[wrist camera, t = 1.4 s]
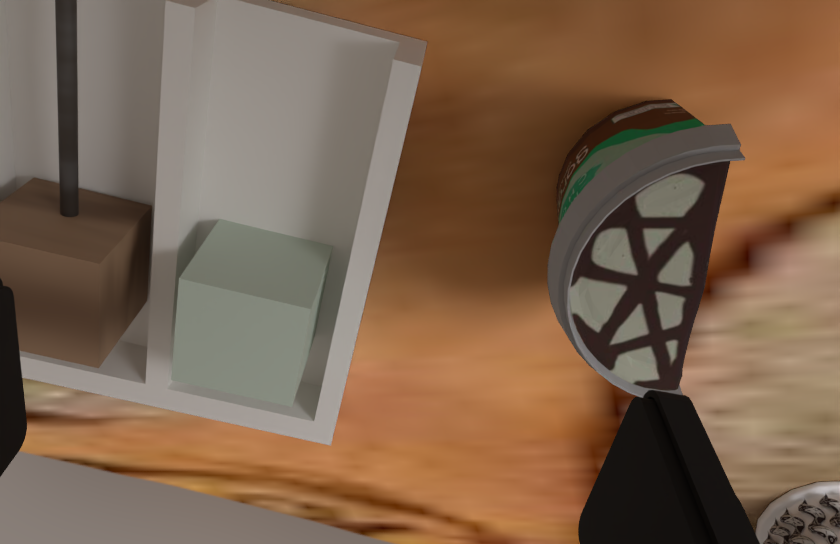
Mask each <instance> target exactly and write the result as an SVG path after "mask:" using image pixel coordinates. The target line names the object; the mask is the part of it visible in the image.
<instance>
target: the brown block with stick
mask: <svg viewBox="0 0 840 544" xmlns="http://www.w3.org/2000/svg"><path fill="white" fill-rule="evenodd" d="M55 19H56V61H57V103H58V145H59V183H55V182H51V181H47V180H43V179H39V178H35V177H34V178H32V179H31V180H30V181H28V182H27V183H26V184H24V185H23V186H21V187H20V188H19V189H17V190H16V191H15V192H13V193H12V194H11V195H9V196H8V197H7V198H5V199H4V200H3V201H1V202H0V278H1V280H2V282H3V286H8V287H10V288H11V289H12V291H13V295H14V302H15V312H16V322H17V332H18V341H19V351H23V352H28V353H32V354H37V355H41V356H46V357H50V358H55V359H59V360H64V361H68V362H72V363H77V364H81V365H86V366H90V367H95V368H99V367H100V366H101V364H102V363H103V362H104V360H105V359H106V357H107V356H108V355H109V353H110V352H111V350H112V349H113V348H114V346H115V345H116V344H117V342H118V341H119V339H120V338H121V337H122V335H123V334H124V332H125V331H126V330H127V328H128V327H129V326H130V324H131V323H132V321H133V320H134V319H135V317H136V316H137V314H138V313H139V312H140V310H141V309H142V307H143V306H144V305H145V303H146V302H147V296H148V276H149V257H150V237H151V217H152V206H151V205H147V204H143V203H139V202H135V201H131V200H126V199H122V198H118V197H114V196H110V195H106V194H101V193H97V192H93V191H89V190H85V189H80V188H79V187H78V72H77V0H55Z"/></svg>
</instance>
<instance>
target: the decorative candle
mask: <svg viewBox="0 0 840 544" xmlns="http://www.w3.org/2000/svg"><path fill="white" fill-rule="evenodd" d="M755 534H756V536H757V538H758V541H759V543H760V544H840V481H826V482H816V483H812V484H809V485H806V486H802V487H799V488H796V489H792V490H790V491H789V492H787V493H786V494H784V495H782V496H781V497H779V498H778V499H776V500H774V501H773V502H771V503H770V504H769V506H768V507H767V508H766V509H765V511H764V512H763V513H762V515H761V516H760V517H759V518H758V521H757V527H756V533H755Z"/></svg>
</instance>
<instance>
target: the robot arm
mask: <svg viewBox="0 0 840 544" xmlns="http://www.w3.org/2000/svg"><path fill="white" fill-rule="evenodd" d="M26 430H27V420H26V410H25V401H24V391H23V381H22V371H21V361H20V351H19V341H18V332H17V322H16V312H15V302H14V295H13V291H12V289H11V288H10V287H8V286H3V282H2V280H1V278H0V476H1V475H2V473H3V472H4V470H5V469H6V468H7V467H8V465H9V464H10V462H11V461H12V460H13V458H14V457H15V455H16V454H17V453H18V451H19V450H20V448H21V446H22V444H23V442H24V439H25V436H26ZM579 541H580V544H760V543H759V541H758V538H757V536H756V534H755V532H754V530H753V528H752V526H751V524H750V521H749V519H748V517H747V515H746V513H745V511H744V509H743V507H742V504H741V503H740V501H739V499H738V498H737V496H736V495H735V493H734V491H733V489H732V487H731V485H730V482H729V480H728V478H727V476H726V474H725V472H724V470H723V468H722V465H721V463H720V461H719V459H718V457H717V455H716V453H715V450H714V448H713V446H712V444H711V442H710V440H709V438H708V435H707V433H706V431H705V429H704V427H703V425H702V423H701V420H700V418H699V416H698V414H697V412H696V410H695V408H694V405H693V403H692V401H691V400H690V399H689V397H687V396H685V395H679V394H674V393H668V392H662V391H657V390H648V391H647V392H646V393H645V394H644V396H643V398H642V397H635V398H634V399H633V400H632V401H631V403H630V405H629V408H628V410H627V412H626V414H625V417H624V419H623V421H622V423H621V426H620V428H619V430H618V432H617V435H616V437H615V439H614V441H613V444H612V446H611V448H610V450H609V453H608V455H607V457H606V459H605V462H604V464H603V466H602V468H601V471H600V473H599V475H598V477H597V480H596V482H595V484H594V486H593V489H592V491H591V493H590V495H589V498H588V500H587V502H586V504H585V507H584V509H583V511H582V514H581V517H580V521H579Z"/></svg>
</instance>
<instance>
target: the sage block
mask: <svg viewBox="0 0 840 544" xmlns="http://www.w3.org/2000/svg"><path fill="white" fill-rule="evenodd" d="M332 249H333V246H331V245H327V244H323V243H318V242H314V241H310V240H306V239H302V238H298V237H293V236H289V235H285V234H281V233H277V232H273V231H268V230H264V229H260V228H256V227H252V226H248V225H243V224H239V223H235V222H231V221H227V220H223V219H219V221H218V222H217V224H216V225H215V226H214V228H213V229H212V231H211V232H210V234H209V235H208V237H207V238H206V240H205V241H204V243H203V244H202V245H201V247H200V248H199V250H198V251H197V253H196V254H195V256H194V257H193V259H192V260H191V262H190V263H189V264H188V266H187V267H186V269H185V270H184V272H183V273H182V275H181V276H180V278H179V284H178V297H177V310H176V323H175V336H174V349H173V363H172V376H171V380H173V381H178V382H182V383H187V384H191V385H196V386H200V387H204V388H209V389H213V390H218V391H222V392H227V393H231V394H236V395H240V396H245V397H249V398H254V399H258V400H263V401H267V402H272V403H276V404H281V405H285V406H290V407H292V406H293V403H294V399H295V396H296V393H297V390H298V387H299V384H300V381H301V378H302V375H303V371H304V368H305V365H306V362H307V359H308V356H309V353H310V350H311V347H312V344H313V340H314V337H315V333H316V328H317V323H318V318H319V313H320V309H321V304H322V299H323V294H324V289H325V284H326V279H327V274H328V269H329V264H330V259H331V254H332Z"/></svg>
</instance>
